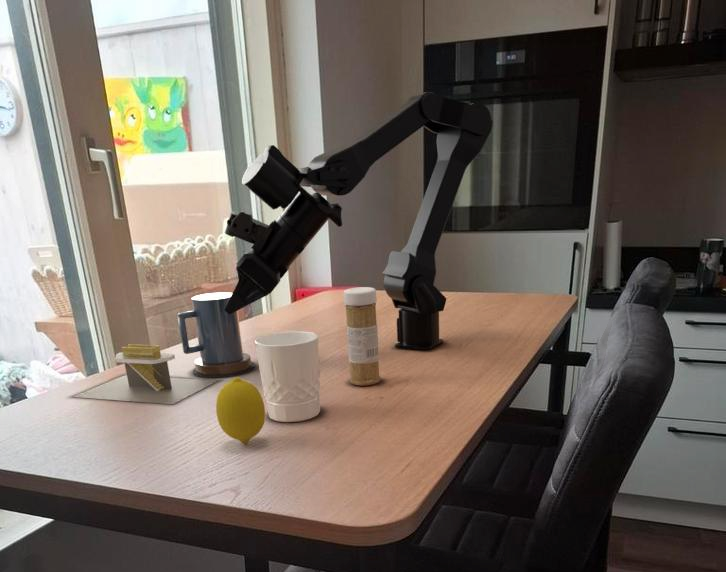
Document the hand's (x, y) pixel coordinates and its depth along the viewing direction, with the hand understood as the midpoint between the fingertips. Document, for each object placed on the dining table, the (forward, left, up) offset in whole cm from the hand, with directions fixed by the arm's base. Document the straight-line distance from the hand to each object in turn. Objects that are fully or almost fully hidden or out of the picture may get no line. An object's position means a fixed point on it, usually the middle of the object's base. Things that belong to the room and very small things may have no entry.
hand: (232, 306), depth 110 cm
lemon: (-24, +26, -10) cm, 37 cm away
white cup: (-23, +15, -10) cm, 29 cm away
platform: (+6, +14, -10) cm, 19 cm away
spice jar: (-24, -1, -10) cm, 26 cm away
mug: (+2, +1, -10) cm, 10 cm away
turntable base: (+2, +1, -10) cm, 10 cm away
